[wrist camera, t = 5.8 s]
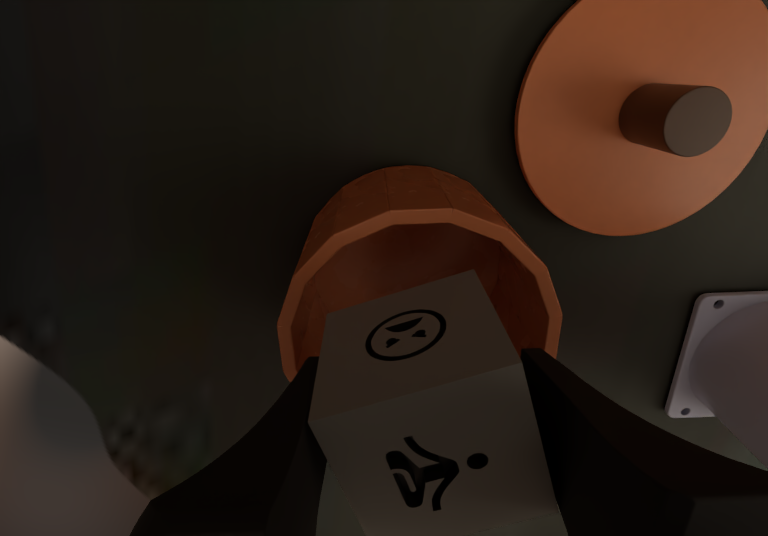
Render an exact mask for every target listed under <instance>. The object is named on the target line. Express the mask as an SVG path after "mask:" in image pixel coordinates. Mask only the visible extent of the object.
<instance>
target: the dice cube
mask: <svg viewBox="0 0 768 536" xmlns="http://www.w3.org/2000/svg"><path fill="white" fill-rule="evenodd" d="M308 424H309V426H310V428H311V430H312V432H313V434H314V436H315V437H316V439H317V441H318V443H319V445H320V447H321V449H322V451H323V453H324V455H325V457H326V459H327V461H328V463H329V465H330V466H331V468H332V470H333V472H334V474H335V476H336V478H337V480H338V482H339V484H340V486H341V488H342V490H343V492H344V494H345V496H346V497H347V499H348V501H349V503H350V505H351V507H352V509H353V511H354V513H355V515H356V517H357V519H358V521H359V523H360V525H361V526H362V528H363V530H364V532H365V534H366V536H465V535H469V534H473V533H477V532H481V531H485V530H489V529H493V528H497V527H502V526H506V525H510V524H514V523H518V522H522V521H526V520H530V519H534V518H539V517H543V516H547V515H551V514H555V513H559V511H558V507H557V503H556V499H555V495H554V491H553V486H552V482H551V478H550V474H549V470H548V466H547V462H546V458H545V454H544V450H543V446H542V442H541V437H540V433H539V429H538V425H537V421H536V417H535V413H534V409H533V405H532V401H531V397H530V393H529V388H528V384H527V380H526V376H525V372H524V368H523V364H522V361H521V359H520V357H519V355H518V353H517V351H516V350H515V348H514V346H513V344H512V342H511V340H510V338H509V336H508V334H507V332H506V330H505V328H504V326H503V324H502V322H501V320H500V319H499V317H498V315H497V313H496V311H495V309H494V307H493V305H492V303H491V301H490V299H489V297H488V295H487V293H486V291H485V289H484V288H483V286H482V284H481V282H480V280H479V278H478V276H477V274H476V272H475V270H474V269H472V270H469V271H466V272H462V273H459V274H456V275H453V276H449V277H446V278H443V279H439V280H436V281H433V282H430V283H426V284H423V285H420V286H416V287H413V288H410V289H407V290H403V291H400V292H397V293H393V294H390V295H387V296H384V297H380V298H377V299H374V300H370V301H367V302H364V303H361V304H357V305H354V306H351V307H348V308H344V309H341V310H338V311H334V312H331V313H328V314H327V316H326V322H325V327H324V333H323V339H322V344H321V350H320V356H319V361H318V367H317V373H316V378H315V384H314V390H313V395H312V401H311V407H310V412H309V418H308Z"/></svg>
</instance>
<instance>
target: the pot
mask: <svg viewBox="0 0 768 536" xmlns="http://www.w3.org/2000/svg"><path fill="white" fill-rule="evenodd" d="M472 269H474V270H475V272H476V274H477V276H478V278H479V280H480V282H481V284H482V286H483V288H484V289H485V291H486V293H487V295H488V297H489V299H490V301H491V303H492V305H493V307H494V309H495V311H496V313H497V315H498V317H499V319H500V320H501V322H502V324H503V326H504V328H505V330H506V332H507V334H508V336H509V338H510V340H511V342H512V344H513V346H514V348H515V350H516V351H517V353H518V355H519V357H520V356H521V349H523V348H541V349H543V350H544V351H546V352H547V353H548V354H550V355H551V356H552V357H553V358H555V359H556V356H557V349H558V343H559V336H560V330H561V323H562V317H563V316H562V311H561V308H560V305H559V302H558V298H557V295H556V292H555V289H554V286H553V283H552V280H551V277H550V274H549V271H548V268H547V267H546V265H545V264H544V263H543V262H542V261H541V260H540V258H539V257H538V256H537V255H536V254H535V253H534V252H533V250H532V249H531V248H530V247H529V246H528V245H527V244H526V243H525V241H524V240H523V239H522V238H521V237H520V236H519V235H518V234H517V232H516V231H515V230H514V229H513V228H512V227H511V226H510V224H509V223H508V222H507V221H506V220H505V219H504V218H503V217H502V215H501V214H500V213H499V212H498V211H497V210H496V209H495V208H494V207H493V206H492V205H491V204H490V203H489V202H488V201H487V200H486V199H485V198H484V197H483V196H482V194H480V193H479V192H478V191H477V190H476V189H475V188H474V187H473V186H472V185H471V184H470V183H469V182H468V181H465V180H462V179H461V178H459V177H456V176H454V175H452V174H450V173H448V172H445V171H442V170H439V169H435V168H432V167H427V166H413V165H403V166H393V167H388V168H382V169H379V170H376V171H373V172H370V173H368V174H365V175H363V176H361V177H359V178H357V179H355V180H353V181H352V182H350V183H349V184H347V185H345V186H344V187H342V188H341V189H340V190H339V191H338V192H337V193H336V194H335V195H334V196H333V197H332V198H331V199H330V200H329V201H328V202H327V204H326V205H325V206H324V207H323V209H322V210H321V211H320V212H319V213H318V214H317V215H316V217H315V219H314V221H313V224H312V227H311V229H310V232H309V235H308V237H307V240H306V242H305V245H304V248H303V250H302V253H301V256H300V258H299V261H298V264H297V266H296V269H295V272H294V274H293V277H292V280H291V283H290V286H289V289H288V292H287V295H286V298H285V301H284V304H283V307H282V310H281V313H280V316H279V319H278V322H277V331H278V338H279V345H280V352H281V359H282V367H283V371H284V374H285V375H286V377H287V378H288V380H289V381H290V383H291V381H292V380H293V379H294V377H295V376H296V374H297V373H298V371H299V370H300V368H301V367H302V365H303V364H304V362H305V360H306V359H307V358H308V357H310V356H320V350H321V344H322V339H323V333H324V327H325V322H326V316H327V314H328V313H331V312H334V311H338V310H341V309H344V308H348V307H351V306H354V305H357V304H361V303H364V302H367V301H370V300H374V299H377V298H380V297H384V296H387V295H390V294H393V293H397V292H400V291H403V290H407V289H410V288H413V287H416V286H420V285H423V284H426V283H430V282H433V281H436V280H439V279H443V278H446V277H449V276H453V275H456V274H459V273H462V272H466V271H469V270H472Z"/></svg>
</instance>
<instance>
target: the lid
mask: <svg viewBox="0 0 768 536" xmlns="http://www.w3.org/2000/svg"><path fill="white" fill-rule="evenodd" d="M767 129H768V10H767V8H766V6H765V5H764V3H763V2H762V1H761V0H578V1H577V2H576V3H574V4H573V5H572V6H571V7H570V8H569V9H568V10H567V11H566V12H565V13H564V14H563V15H562V16H561V17H560V18H559V20H558V21H557V22H556V23H555V24H554V25H553V26H552V28H551V29H550V30H549V32H548V33H547V35H546V36H545V38H544V39H543V40H542V42H541V43H540V45H539V47H538V48H537V50H536V52H535V54H534V56H533V58H532V60H531V61H530V63H529V66H528V68H527V71H526V73H525V76H524V78H523V81H522V84H521V88H520V92H519V95H518V99H517V106H516V112H515V129H514V135H515V145H516V152H517V156H518V161H519V165H520V168H521V170H522V173H523V175H524V178H525V180H526V182H527V183H528V185H529V187H530V189H531V190H532V192H533V193H534V195H535V196H536V197H537V198H538V200H539V201H540V202H541V203H542V204H543V205H544V206H545V207H546V208H547V209H548V210H549V211H550V212H551V213H553V214H554V215H555V216H557V217H558V218H560V219H561V220H563V221H564V222H566V223H567V224H569V225H572V226H574V227H576V228H578V229H580V230H584V231H587V232H590V233H594V234H600V235H607V236H627V235H638V234H643V233H647V232H652V231H655V230H658V229H661V228H664V227H667V226H670V225H672V224H674V223H676V222H679V221H681V220H683V219H685V218H687V217H688V216H690V215H692V214H693V213H695V212H697V211H699V210H700V209H701V208H703V207H704V206H705V205H707V204H708V203H710V202H711V201H712V200H714V199H715V198H716V197H717V196H718V195H719V194H720V193H721V192H723V191H724V190H725V189H726V188H727V187H728V186H729V185H730V184H731V183H732V182H733V181H734V179H735V178H736V177H737V176H738V175H739V174H740V173H741V171H742V170H743V169H744V167H745V166H746V165H747V164H748V162H749V161H750V159H751V158H752V156H753V155H754V153H755V151H756V150H757V148H758V147H759V145H760V143H761V141H762V139H763V137H764V135H765V133H766V131H767Z"/></svg>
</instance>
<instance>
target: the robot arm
mask: <svg viewBox="0 0 768 536" xmlns="http://www.w3.org/2000/svg"><path fill="white" fill-rule="evenodd" d="M718 300H719V301H718ZM716 301H718V302H717V303H716V304H715V305H714V303H715V302H716ZM520 359H521V361H522V364H523V368H524V372H525V376H526V380H527V384H528V388H529V393H530V397H531V401H532V405H533V409H534V413H535V417H536V421H537V425H538V429H539V433H540V437H541V442H542V446H543V450H544V454H545V458H546V462H547V466H548V470H549V474H550V478H551V482H552V486H553V491H554V495H555V499H556V501H557V504H558V506H559V509H560V512H561V515H562V518H563V521H564V523H565V526H566V529H567V532H568V535H569V536H768V471H765V470H762V469H759V468H756V467H753V466H750V465H747V464H744V463H741V462H738V461H735V460H732V459H730V458H727V457H724V456H722V455H719V454H717V453H714V452H712V451H709V450H707V449H704V448H702V447H699V446H697V445H695V444H693V443H690V442H688V441H686V440H683V439H681V438H679V437H677V436H675V435H673V434H671V433H669V432H667V431H665V430H663V429H661V428H659V427H657V426H655V425H653V424H651V423H649V422H647V421H645V420H644V419H642V418H640V417H638V416H637V415H635V414H633V413H631V412H630V411H628V410H626V409H625V408H623V407H621V406H620V405H618V404H617V403H615V402H614V401H612V400H611V399H609V398H608V397H606V396H605V395H603V394H602V393H600V392H599V391H597V390H596V389H594V388H593V387H592V386H590V385H589V384H587V383H586V382H585V381H583V380H582V379H581V378H579V377H578V376H577V375H575V374H574V373H573V372H571V371H570V370H569V369H568V368H566V367H565V366H564V365H562V364H561V363H560V362H559V361H557V360H556V359H555V358H553V357H552V356H551V355H550V354H548V353H547V352H546V351H544V350H543V349H541V348H523V349H521V356H520ZM318 361H319V356H310V357H308V358H307V359H306V360H305V362H304V364H303V365H302V367H301V368H300V370H299V371H298V373H297V374H296V376H295V377H294V379H293V380H292V381H291V383H290V384H289V386H288V387H287V388H286V390H285V391H284V392H283V393H282V395H281V396H280V397H279V399H278V400H277V401H276V402H275V403H274V405H273V406H272V407H271V408H270V409H269V410H268V412H267V413H266V414H265V415H264V416H263V417H262V418H261V419H260V421H259V422H258V423H257V424H256V425H255V426H254V427H253V428H252V429H251V430H250V431H249V432H248V433H247V434H246V435H245V436H243V437H242V438H241V439H240V440H239V441H238V442H237V443H236V444H234V445H233V446H232V447H231V448H230V449H228V450H227V451H226V452H225V453H223V454H222V455H221V456H220V457H219V458H217V459H216V460H214V461H213V462H212V463H210V464H209V465H208V466H206V467H205V468H203V469H202V470H200V471H199V472H197V473H196V474H194V475H193V476H191V477H190V478H188V479H187V480H185V481H184V482H182V483H180V484H179V485H177V486H175V487H173V488H172V489H170V490H168V491H167V492H165V493H163V494H161V495H160V496H158V497H156V498H154V499H152V500H151V501H150V502H149V504H148V506H147V507H146V509H145V510H144V512H143V513H142V515H141V516H140V518H139V519H138V521H137V523H136V525H135V526H134V528H133V530H132V532H131V534H130V536H316V525H317V514H318V507H319V501H320V495H321V490H322V484H323V479H324V474H325V468H326V463H327V459H326V457H325V455H324V453H323V451H322V449H321V447H320V445H319V443H318V441H317V439H316V437H315V436H314V434H313V432H312V430H311V428H310V426H309V424H308V418H309V412H310V407H311V401H312V395H313V390H314V384H315V378H316V373H317V367H318ZM684 408H685V409H684ZM665 412H666V414H667V415H668V416H669V417H671V418H689V417H714V416H716V417H717V418H718V419H719V420H720V421H721V422H722V423H723V424H724V425H725V426H726V427H727V428H728V429H729V430H730V431H731V432H732V433H733V434H734V435H735V436H736V437H737V438H738V439H739V440H740V441H741V442H742V443H743V444H744V445H745V446H746V448H747V449H748V450H749V451H750V452H751V453H752V454H753V455H754V456H755V457H756V458H757V459H758V460H759V461H760V462H761V463H762V464H763V465H764V466H765V467H766V468H767V469H768V291H750V292H722V293H705V294H702V295H700V296H699V297H698V298H697V299H696V301H695V304H694V307H693V311H692V314H691V318H690V321H689V325H688V328H687V332H686V335H685V339H684V342H683V346H682V349H681V353H680V356H679V360H678V363H677V367H676V370H675V374H674V377H673V381H672V384H671V388H670V391H669V395H668V398H667V402H666V405H665Z"/></svg>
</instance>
